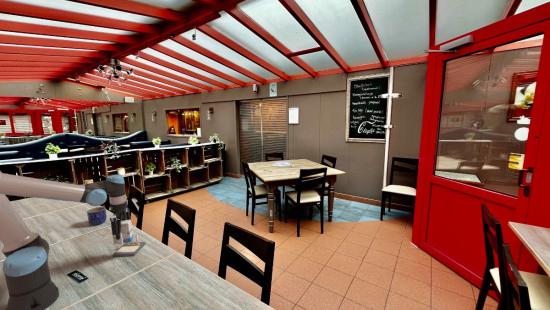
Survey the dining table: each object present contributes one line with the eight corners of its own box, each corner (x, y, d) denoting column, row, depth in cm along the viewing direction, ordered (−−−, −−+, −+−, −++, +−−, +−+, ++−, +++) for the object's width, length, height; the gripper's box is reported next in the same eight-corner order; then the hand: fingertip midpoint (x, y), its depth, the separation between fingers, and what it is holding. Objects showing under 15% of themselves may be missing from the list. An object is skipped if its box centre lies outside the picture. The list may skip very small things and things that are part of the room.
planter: (104, 225, 161) (102, 211, 159) (86, 228, 157) (84, 213, 155) (109, 219, 171) (107, 205, 169) (92, 221, 167) (90, 207, 165)
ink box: (133, 238, 127) (131, 219, 125) (130, 242, 122) (128, 223, 121) (117, 240, 125) (114, 221, 123) (113, 244, 120) (110, 225, 118)
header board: (134, 255, 124) (133, 243, 123) (112, 256, 124) (111, 244, 122) (145, 244, 136) (144, 233, 135) (126, 244, 135) (124, 233, 134)
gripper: (114, 209, 111) (120, 250, 115) (135, 196, 129) (139, 232, 133) (99, 209, 111) (105, 250, 114) (122, 196, 129) (127, 232, 133)
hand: (123, 240), depth 124 cm, fingers closed on ink box, 6 cm apart
